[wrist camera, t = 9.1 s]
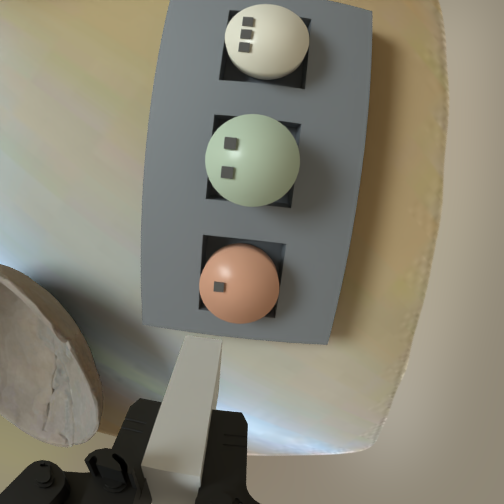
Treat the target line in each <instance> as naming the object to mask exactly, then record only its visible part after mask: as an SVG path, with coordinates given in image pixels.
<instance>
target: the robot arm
mask: <svg viewBox="0 0 504 504" xmlns="http://www.w3.org/2000/svg"><path fill="white" fill-rule="evenodd" d="M221 352H222V340H221V339H213V338H205V337H197V336H189V335H186V336H185V339H184V342H183V344H182V347H181V350H180V353H179V356H178V358H177V361H176V364H175V367H174V369H173V372H172V375H171V378H170V381H169V384H168V386H167V389H166V392H165V395H164V398H163V401H162V402H156V401H151V400H146V399H142V398H140V399H139V400H137V401H136V402H135V403H134V404H133V405H132V406H130V408H129V411H128V413H127V415H126V417H125V420H124V422H123V424H122V428H121V429H120V431H119V433H118V436H117V438H116V440H115V443H114V445H113V447H112V449H108V448H104V449H98V450H95V451H93V452H92V453H90V454H89V455H88V456H87V457H86V458H85V463H86V464H87V466H88V469H89V471H90V472H88V473H78V472H65V471H62V470H61V469H60V468H59V467H58V466H57V465H56V464H54V463H52V462H50V461H44V460H41V461H36V462H33V463H32V464H30V465H29V466H28V467H27V468H26V469H25V470H24V471H23V472H22V473H21V474H20V475H19V476H18V477H17V478H16V479H15V480H14V481H13V482H12V483H11V484H10V485H9V486H8V487H7V488H6V489H5V490H4V491H3V492H2V493H1V494H0V504H151V503H152V504H260V503H258V502H257V501H255V500H254V499H253V498H252V497H251V496H250V494H249V493H248V490H247V487H246V466H247V431H248V424H247V422H246V420H245V418H244V416H243V414H242V413H241V412H231V411H221V410H216V405H217V398H218V391H219V379H220V365H221Z"/></svg>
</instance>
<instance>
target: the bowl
mask: <svg viewBox="0 0 504 504" xmlns="http://www.w3.org/2000/svg"><path fill="white" fill-rule="evenodd" d="M102 408H103V394H102V387H101V382H100V379H99V374H98V372H97V369H96V366H95V363H94V359H93V356H92V353H91V350H90V348H89V346H88V344H87V341H86V340H85V338H84V336H83V335H82V333H81V331H80V329H79V328H78V326H77V324H76V323H75V321H74V320H73V318H72V317H71V316H70V315H69V313H68V312H67V311H66V310H65V309H64V307H63V306H62V305H61V304H60V303H59V302H58V300H57V299H56V298H54V297H53V296H52V295H51V294H50V293H49V292H48V291H47V290H46V289H44V288H43V287H41V286H40V285H39V284H37V283H36V282H35V281H33V280H32V279H31V278H29V277H28V276H26V275H25V274H23V273H21V272H19V271H17V270H15V269H13V268H11V267H8V266H5V265H1V264H0V414H1V415H2V416H3V417H4V418H5V419H7V420H8V421H10V422H11V423H12V424H14V425H15V426H16V427H18V428H19V429H21V430H22V431H24V432H25V433H27V434H28V435H30V436H32V437H34V438H36V439H38V440H40V441H42V442H45V443H48V444H51V445H55V446H60V447H72V446H73V445H74V444H75V445H78V444H82V443H85V442H87V441H88V440H90V439H91V438H92V437H93V435H94V434H95V433H96V432H97V430H98V427H99V424H100V419H101V415H102Z"/></svg>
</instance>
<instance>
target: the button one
mask: <svg viewBox="0 0 504 504" xmlns="http://www.w3.org/2000/svg"><path fill="white" fill-rule="evenodd" d="M199 290H200V295H201V298H202V300H203V303H204V304H205V306H206V307H207V308H208V310H209V311H210V312H211V313H212V314H214V315H215V316H216V317H218V318H220V319H222V320H224V321H227V322H230V323H236V324H245V323H251V322H254V321H256V320H259V319H261V318H262V317H264V316H265V315H266V314H268V313H269V312H270V311H271V309H272V308H273V307H274V305H275V303H276V301H277V299H278V295H279V280H278V274H277V270H276V267H275V264H274V263H273V261H272V259H271V258H270V257H269V256H268V255H267V254H266V253H265V252H264V251H263V250H261V249H260V248H258V247H255V246H253V245H251V244H247V243H235V244H230V245H227V246H224V247H222V248H220V249H219V250H217V251H216V252H215V253H214V254H212V256H211V257H210V258H209V260H208V261H207V263H206V265H205V267H204V269H203V271H202V274H201V277H200V282H199Z"/></svg>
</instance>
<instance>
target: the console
mask: <svg viewBox="0 0 504 504" xmlns="http://www.w3.org/2000/svg"><path fill="white" fill-rule="evenodd" d="M259 4H272V5H278V6H281V7H284V8H287V9H289V10H290V11H292V12H294V13H295V14H296V15H297V16H299V17H300V18H301V20H302V21H303V22H304V24H305V25H306V27H307V30H308V33H309V47H308V50H307V52H306V54H305V57H304V59H303V61H302V63H301V64H300V65H299V67H298V68H297V69H296V70H295V71H293V72H292V73H290V74H289V75H287V76H284V77H281V78H278V79H274V80H259V79H255V78H253V77H251V76H248V75H246V74H244V73H243V72H241V71H240V70H239V69H238V68H236V67H235V65H234V64H233V63H232V61H231V60H230V57H229V55H228V51H227V48H226V44H225V32H226V28H227V26H228V24H229V22H230V20H231V19H232V18H233V17H234V16H235V15H236V14H237V13H239V12H240V11H242V10H243V9H245V8H248V7H250V6H254V5H259ZM371 57H372V11H369V10H365V9H362V8H358V7H354V6H350V5H346V4H342V3H337V2H333V1H328V0H170V3H169V7H168V11H167V16H166V20H165V25H164V29H163V34H162V39H161V44H160V50H159V55H158V61H157V67H156V73H155V79H154V85H153V92H152V99H151V107H150V115H149V123H148V132H147V142H146V153H145V165H144V179H143V196H142V220H141V298H142V322H143V325H149V326H155V327H161V328H167V329H174V330H181V331H188V332H195V333H202V334H210V335H218V336H227V337H236V338H245V339H255V340H266V341H278V342H291V343H305V344H323V345H327V344H328V341H329V337H330V333H331V329H332V325H333V321H334V317H335V312H336V308H337V304H338V299H339V295H340V291H341V286H342V281H343V277H344V272H345V267H346V262H347V257H348V252H349V247H350V241H351V236H352V230H353V224H354V218H355V212H356V206H357V200H358V193H359V186H360V179H361V172H362V164H363V156H364V148H365V139H366V129H367V118H368V107H369V94H370V78H371ZM246 114H259V115H264V116H268V117H271V118H273V119H275V120H277V121H278V122H280V123H281V124H282V125H284V126H285V127H286V128H287V129H288V130H289V131H290V133H291V134H292V135H293V137H294V139H295V141H296V143H297V146H298V149H299V154H300V167H299V172H298V175H297V178H296V180H295V182H294V184H293V185H292V187H291V188H290V189H289V191H288V192H287V193H286V194H285V195H284V196H282V197H281V198H280V199H278V200H277V201H275V202H273V203H270V204H267V205H264V206H258V207H247V206H241V205H238V204H235V203H233V202H231V201H229V200H227V199H226V198H224V197H223V196H222V195H220V194H219V193H218V192H217V190H216V189H215V188H214V187H213V185H212V183H211V182H210V180H209V177H208V175H207V171H206V165H205V155H206V150H207V146H208V143H209V141H210V139H211V137H212V136H213V134H214V133H215V132H216V130H217V129H218V128H219V127H220V126H221V125H223V124H224V123H225V122H227V121H228V120H230V119H232V118H235V117H237V116H241V115H246ZM235 243H247V244H251V245H253V246H255V247H258V248H260V249H261V250H263V251H264V252H265V253H266V254H267V255H268V256H269V257H270V258H271V259H272V261H273V263H274V264H275V267H276V270H277V274H278V280H279V295H278V299H277V301H276V303H275V305H274V307H273V308H272V309H271V311H270V312H269V313H268V314H266V315H265V316H264V317H262V318H261V319H259V320H256V321H254V322H251V323H245V324H236V323H230V322H227V321H224V320H222V319H220V318H218V317H216V316H215V315H214V314H212V313H211V312H210V311H209V310H208V308H207V307H206V306H205V304H204V303H203V300H202V298H201V295H200V290H199V282H200V277H201V274H202V271H203V269H204V267H205V265H206V263H207V261H208V260H209V258H210V257H211V256H212V254H214V253H215V252H216V251H217V250H219V249H220V248H222V247H224V246H227V245H230V244H235Z"/></svg>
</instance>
